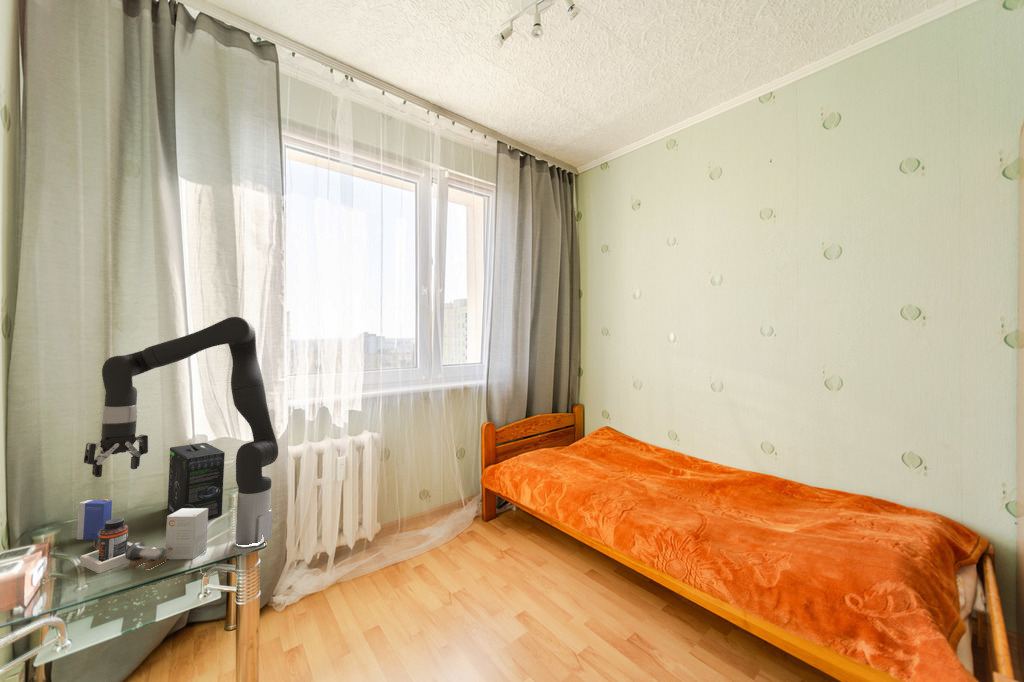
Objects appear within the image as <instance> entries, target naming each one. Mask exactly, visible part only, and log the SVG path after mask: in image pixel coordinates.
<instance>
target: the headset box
mask: <svg viewBox="0 0 1024 682" xmlns="http://www.w3.org/2000/svg"><path fill="white" fill-rule="evenodd" d="M225 453H226V452H225V451H223V450H222V449H220V448H217V447H216V446H213V445H211V444H210V443H208V442H199V443H193V444H191V443H190V444H186V445H184V444H183V445H177V446H171V447H169V468H168V469H169V470H168V488H167V490H168V492H167V511H169V513H170V515H171V514H172V513H174V512H176V511H178V510H180V509H182V508H208V520H209V519H214V518H217V517H220V516H223V501H224V499H223V496H224V495H223V494H224V493H223V492H224V474H225Z"/></svg>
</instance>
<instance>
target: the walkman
mask: <svg viewBox="0 0 1024 682" xmlns="http://www.w3.org/2000/svg"><path fill="white" fill-rule="evenodd" d="M112 506H113V500H111V499H106V498H105V499H103V500H102V499H88V500H84V501H81V502H78V514H77V515H78V516H77V527H76V528H77V529H76V540H94V539H97V538H99V537H98V535H97V531H98V530H99V529H100V528H102V527H105V522H106V521H108V520H111V519H112V511H113V510H112V509H113V508H112Z"/></svg>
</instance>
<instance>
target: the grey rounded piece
mask: <svg viewBox="0 0 1024 682" xmlns="http://www.w3.org/2000/svg"><path fill="white" fill-rule="evenodd" d="M165 552H166V550H165V548H163V547H154V546H147V545H145V544H144V543H143V542H138V541H136V542H134V543H132V545H131V546H130V547H129V548H128V549H127V551H126V554H125V557H126V559H127V560H130V561H129V562H128V568H129V569H136V567H137V568H139V567H140V566H139V565H141V564H143V563H145V564H143V565H144V569H151V568H153V567H155V566H157V565H159V564H161V563H163V562H165V561H166V555H165ZM166 562H167V561H166ZM166 562H165V563H166ZM163 564H164V563H163ZM161 565H162V564H161ZM138 566H139V567H138ZM141 566H142V565H141ZM159 566H160V565H159ZM144 569H143V570H144Z"/></svg>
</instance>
